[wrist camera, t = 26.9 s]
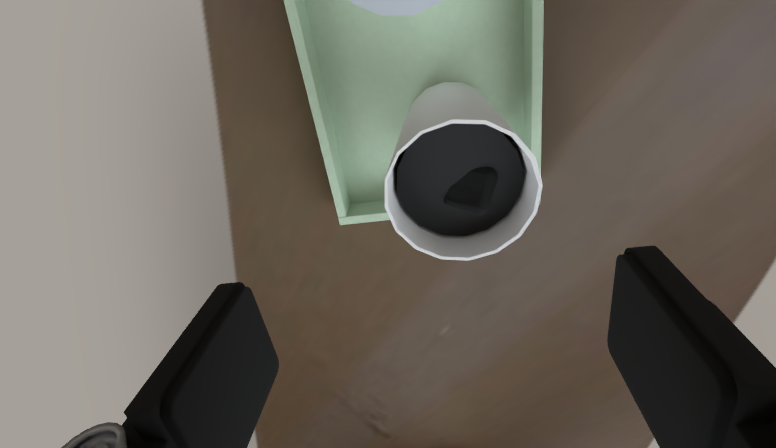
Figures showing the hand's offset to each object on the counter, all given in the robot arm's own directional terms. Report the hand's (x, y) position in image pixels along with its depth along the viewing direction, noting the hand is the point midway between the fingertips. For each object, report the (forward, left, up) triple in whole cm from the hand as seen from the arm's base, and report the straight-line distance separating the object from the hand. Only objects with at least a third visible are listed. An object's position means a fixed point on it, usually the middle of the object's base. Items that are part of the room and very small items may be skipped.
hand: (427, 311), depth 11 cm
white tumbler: (-1, -1, -18) cm, 18 cm away
